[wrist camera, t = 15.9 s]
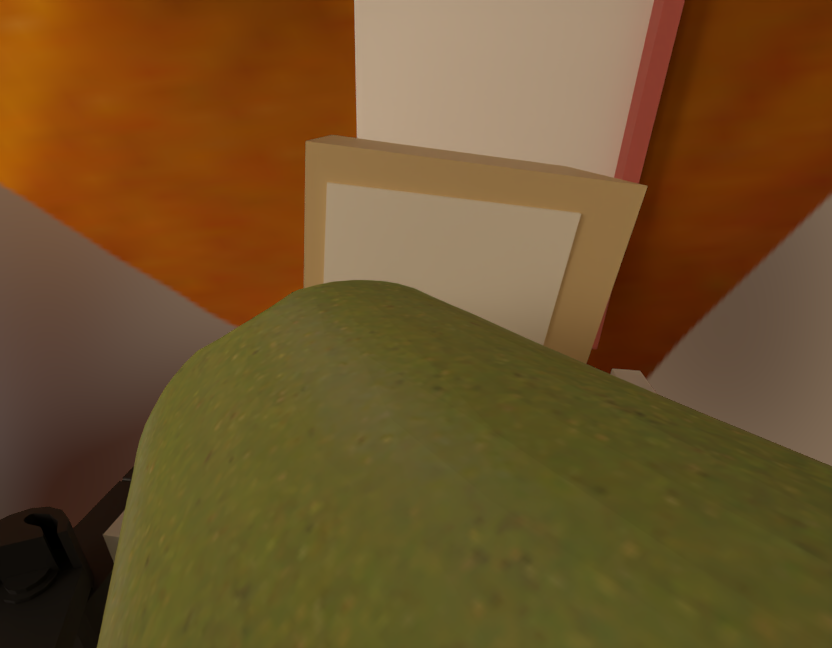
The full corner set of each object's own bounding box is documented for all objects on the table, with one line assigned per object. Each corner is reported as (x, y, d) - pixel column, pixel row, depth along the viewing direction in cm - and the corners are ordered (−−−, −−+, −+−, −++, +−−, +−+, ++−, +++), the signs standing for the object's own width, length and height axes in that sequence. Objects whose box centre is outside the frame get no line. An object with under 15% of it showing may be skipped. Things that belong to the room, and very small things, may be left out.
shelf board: (358, -187, 18) (342, -238, 15) (705, -192, 17) (747, -246, 14) (365, 312, 27) (356, 330, 25) (584, 328, 26) (597, 349, 24)
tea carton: (514, 364, 18) (324, 349, 17) (566, 166, 14) (332, 134, 14) (559, 449, 13) (300, 435, 12) (651, 186, 10) (304, 141, 9)
